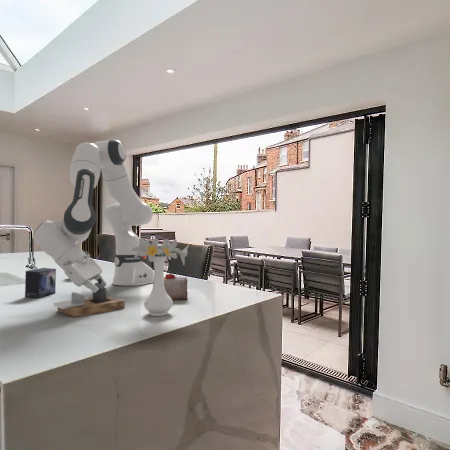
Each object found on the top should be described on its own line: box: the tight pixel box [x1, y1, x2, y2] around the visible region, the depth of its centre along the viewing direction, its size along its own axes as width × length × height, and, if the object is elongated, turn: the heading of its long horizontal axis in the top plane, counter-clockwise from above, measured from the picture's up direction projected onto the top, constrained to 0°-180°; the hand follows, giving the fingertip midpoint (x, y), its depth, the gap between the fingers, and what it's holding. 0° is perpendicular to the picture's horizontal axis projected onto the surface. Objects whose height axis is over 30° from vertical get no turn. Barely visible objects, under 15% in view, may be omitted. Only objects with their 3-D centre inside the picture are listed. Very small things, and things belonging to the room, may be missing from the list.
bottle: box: [92, 279, 108, 303], centre depth 126 cm, size 4×4×10 cm
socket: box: [57, 295, 126, 319], centre depth 124 cm, size 18×12×3 cm, turn 138°
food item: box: [152, 272, 189, 301], centre depth 143 cm, size 14×8×10 cm, turn 98°
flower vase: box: [132, 237, 190, 317], centre depth 119 cm, size 13×18×25 cm
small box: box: [24, 267, 57, 299], centre depth 146 cm, size 11×6×10 cm, turn 168°
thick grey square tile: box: [52, 291, 85, 309], centre depth 118 cm, size 7×7×3 cm
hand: (101, 288), depth 126 cm, fingers open, 8 cm apart
